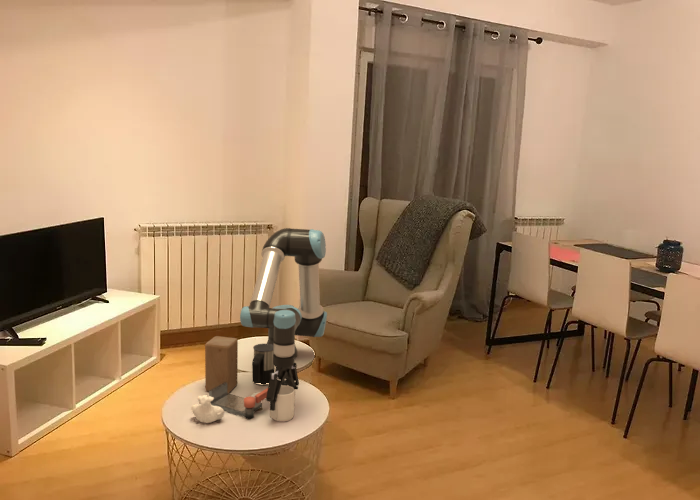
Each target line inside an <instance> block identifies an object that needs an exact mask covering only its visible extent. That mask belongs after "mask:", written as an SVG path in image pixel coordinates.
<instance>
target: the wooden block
mask: <svg viewBox="0 0 700 500" xmlns="http://www.w3.org/2000/svg"><path fill="white" fill-rule="evenodd" d="M238 340H239V339H238V338H235V337H229V336H228V337H227V336H219V335H216V336H214V337H212V338H211V339H209V340H208V341H207V342H206V343H205V345H204V346H205V348H204V349H205V352H204V354H205V355H204V356H205V357H204V358H205V359H204V361H205V362H204V363H205V366H204V367H205V371H204V372H205V376H204V377H205V383H204V385H205V391H206V392H209V390H211V389H213V388H215V387H217V386H219V385H220V384H222V383H224V382H226V383H227V393H229V394H230V393H231V392H232V390H234V388H235V387H236V386H237V385H238V369H239V367H238V366H239V365H238V361H239V360H238V359H239V358H238V356H239V355H238V346H239V345H238V344H239V343H238Z"/></svg>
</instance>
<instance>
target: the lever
mask: <svg viewBox="0 0 700 500" xmlns="http://www.w3.org/2000/svg"><path fill="white" fill-rule="evenodd" d="M277 380H279V379H277ZM267 391H268V387H267V388H265V389H263V390H262V391H260V392H254V393H252V394H251V395H249V396H246V397H243V398H244V407H246V408H253V407H254V408H256V407H258V406H259V405H261V403H262V401H264V400H266V396H267Z"/></svg>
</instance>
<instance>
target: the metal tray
mask: <svg viewBox="0 0 700 500" xmlns="http://www.w3.org/2000/svg"><path fill="white" fill-rule="evenodd" d="M209 396H211V397H214V399H213V401H211V405H213V406H219V407H221V408H222V409H223V410H224V412H226V413H230V414H233V415H236V416H239V417H242V418H245V419H247V420H251V419H254V418H255V415H254V414H255V412H256V411H258V410H260V409H261V408H262V407H263V403H262V402H261V405H259V406H258V407H256V408H254V407H253V408H246V407H244V398H245V397H242V396H240V395H239V396H238V395H235V394H231V393H230V392H229V393H227V383H226V382H224V383H222V384H220V385H219V386H217V387H215V388H213V389H211V390H209V391H208V397H209ZM260 407H261V408H260Z"/></svg>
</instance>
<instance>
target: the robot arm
mask: <svg viewBox="0 0 700 500" xmlns="http://www.w3.org/2000/svg"><path fill="white" fill-rule="evenodd" d="M326 246H327V245H326V238H325V235H324V233H323V231H322V230H320V229H319V230H318V229H313V228H312V229H306V228H290V227H285V228H281V229H279V230H277V231H275V232H274V233H272V234H271V235H270V237H268V239H267V240H266V241H265V243H264V245H263V247H262V249H261V257H262V258H261V262H260V266H259V269H258V274H257V277H256V280H255V284H254V288H253V291H252V296H251V298H250V302H249V305H246V306H243V307H242V308H241V309H240V313H239V321H240V324H241V326H242V327H246V328H252V329H253V328H257V329H258V328H260V329H261V328H262V329H267V331H268V332H267V337H268V338H267V342H266V344H272V345H274V351H273V352H274V355H273V364H274V368H275V369H274V373H270V381H269V385H267V386H268V387H267V388H268V391H267V396H266V398H265V402H269V418H272V419H273V418H274V419H277V415H278V401H276V400H277V397H278V394H279V391H280V388H281V385H282V383H283V382H284V380H286V381H287V383H288V386H291V387H293V388H294V390H295V392H294V407H295V406H296V402H295V401H296V390H298V389H299V385H300V382H299V376H298V371H297V366H298V365H297V362H295V359H296V358H297V356H298V349H297V346H296V344H295V343H296V337H295V336H300V337H311V338H321V337H323V336H324V334H325V329H326V325H327V318H328V312H327V311H325V310H324V307H323V306H322V305H321V302H320V301H321V298H320V295H321V294H320V270H319V269H320V266H319V265H320V263H321V262H322V260H323V259H324V258H325V256H326V251H327V247H326ZM285 257H294V262H295V263H296V264H297V265H298V277H299V278H298V281H299V298H300V299H299V301H300V305H299V306H298V308H297V307H295V305H291V304H282V305H281V304H280V305H276V306H273V307H271V303H272V299H273V294H274V293H275V291H274V290H275V287H276V283H277V279H278V275H279V272H280V267H281V264H282V262H284V260H285ZM277 379H278V380H277ZM274 419H273V420H274Z"/></svg>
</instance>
